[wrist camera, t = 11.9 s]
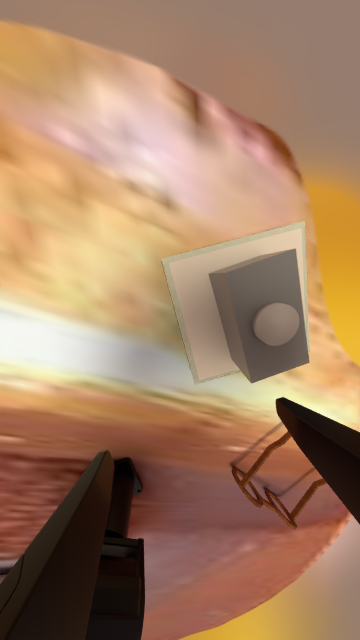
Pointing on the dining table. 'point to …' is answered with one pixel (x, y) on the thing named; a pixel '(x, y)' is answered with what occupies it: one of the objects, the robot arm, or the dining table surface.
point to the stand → (199, 301)
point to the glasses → (271, 505)
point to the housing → (262, 314)
